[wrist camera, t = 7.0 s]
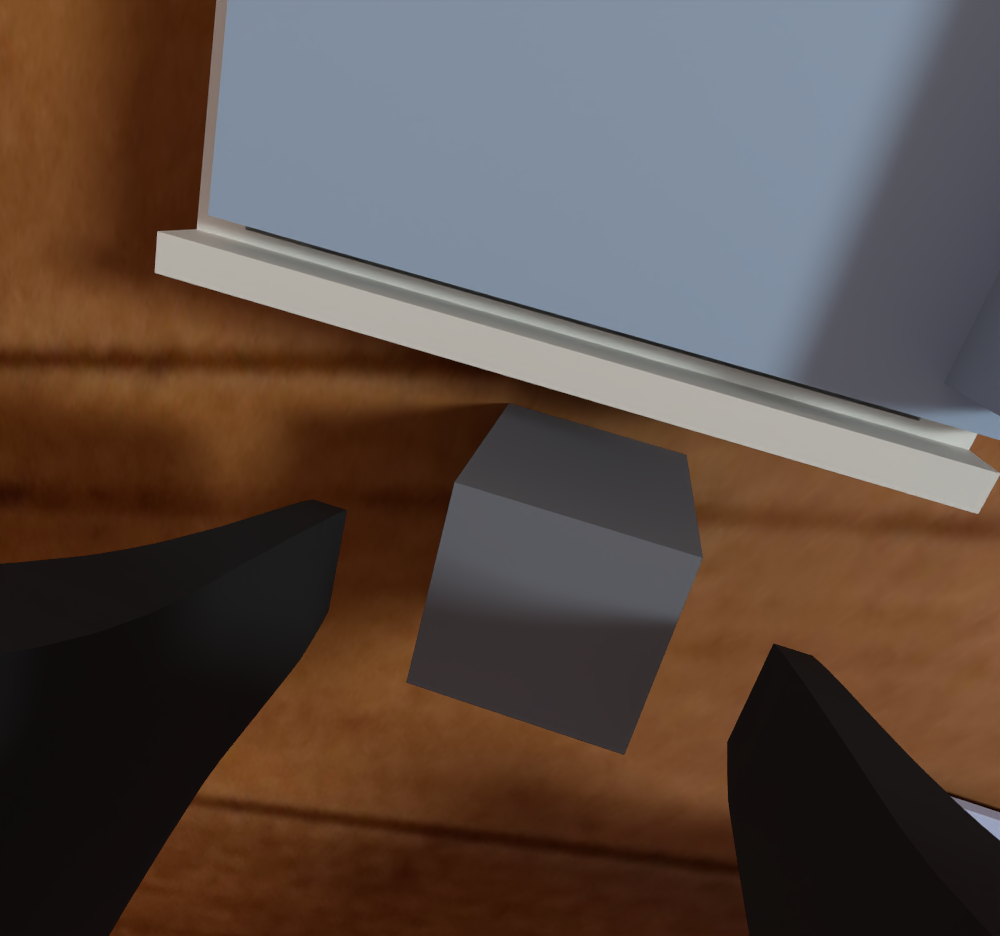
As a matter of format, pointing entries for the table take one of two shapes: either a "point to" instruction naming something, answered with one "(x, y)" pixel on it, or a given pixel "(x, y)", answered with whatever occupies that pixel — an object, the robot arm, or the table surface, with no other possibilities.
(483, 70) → the lid
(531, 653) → the rubber block
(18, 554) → the table surface
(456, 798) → the table surface
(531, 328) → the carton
